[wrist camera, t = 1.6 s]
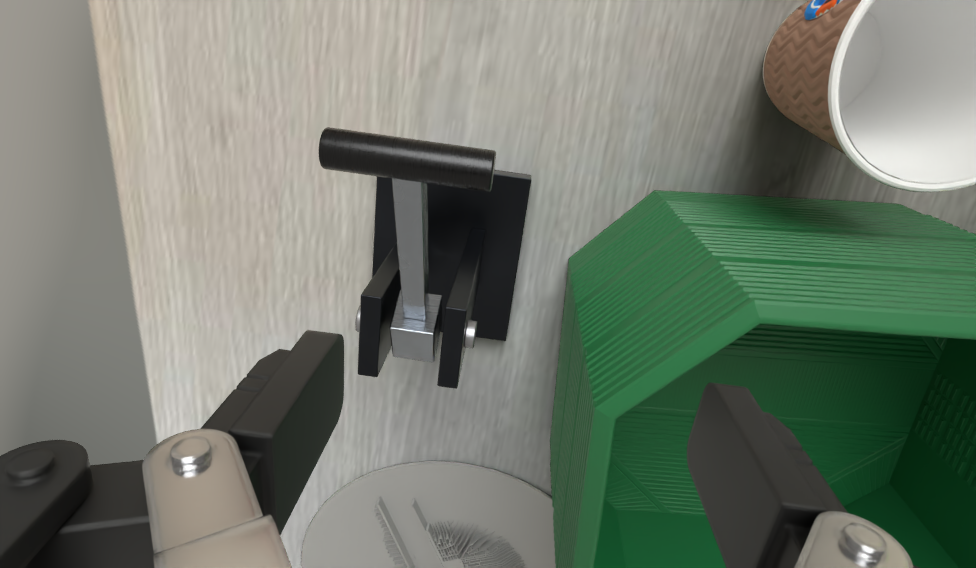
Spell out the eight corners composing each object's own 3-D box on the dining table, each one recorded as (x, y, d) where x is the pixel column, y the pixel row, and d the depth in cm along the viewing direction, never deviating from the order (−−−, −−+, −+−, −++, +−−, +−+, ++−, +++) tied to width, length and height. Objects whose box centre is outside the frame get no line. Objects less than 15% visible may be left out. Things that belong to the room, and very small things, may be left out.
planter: (574, 183, 37) (611, 294, 20) (980, 205, 36) (1373, 343, 19) (543, 486, 47) (551, 726, 31) (858, 512, 46) (1045, 776, 29)
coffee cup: (925, -57, 31) (1148, -116, 20) (906, 133, 34) (1083, 172, 23) (731, -19, 32) (838, -54, 21) (733, 160, 36) (824, 209, 25)
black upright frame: (382, 154, 37) (307, 208, 24) (531, 174, 37) (533, 240, 24) (374, 314, 42) (307, 429, 29) (506, 332, 42) (497, 456, 29)
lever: (331, 110, 20) (310, 154, 18) (499, 133, 20) (490, 179, 18) (367, 313, 30) (356, 351, 29) (476, 329, 30) (470, 368, 29)
